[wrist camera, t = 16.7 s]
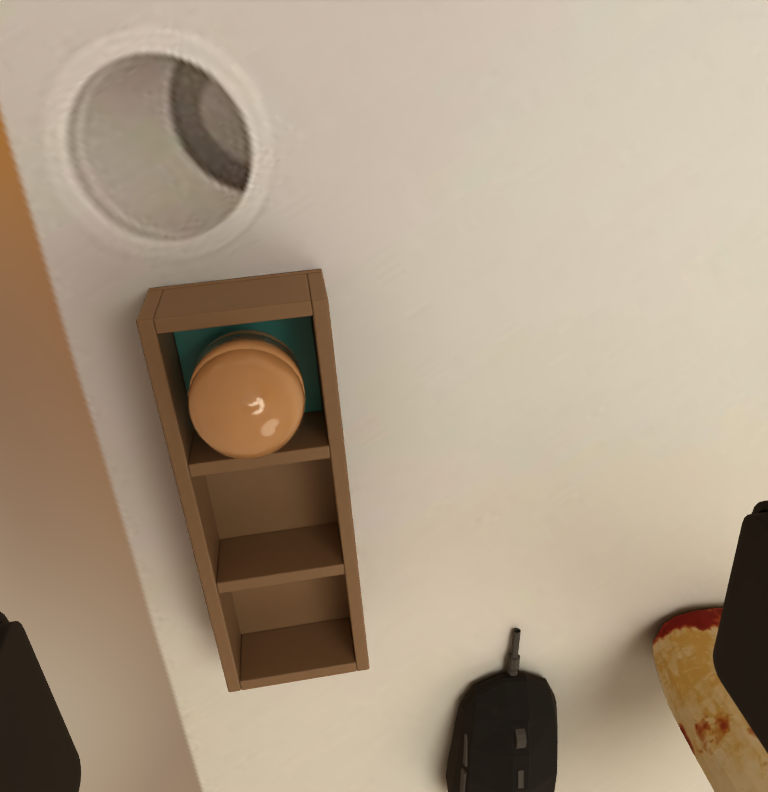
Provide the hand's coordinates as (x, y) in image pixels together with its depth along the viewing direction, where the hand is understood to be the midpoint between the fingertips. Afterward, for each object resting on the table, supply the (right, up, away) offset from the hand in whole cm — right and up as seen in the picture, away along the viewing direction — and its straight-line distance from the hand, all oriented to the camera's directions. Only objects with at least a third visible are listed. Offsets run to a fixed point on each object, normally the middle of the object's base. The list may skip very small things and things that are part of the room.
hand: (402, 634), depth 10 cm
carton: (-5, -1, +23) cm, 24 cm away
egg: (-6, +5, +20) cm, 21 cm away
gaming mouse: (+7, -16, +34) cm, 38 cm away
